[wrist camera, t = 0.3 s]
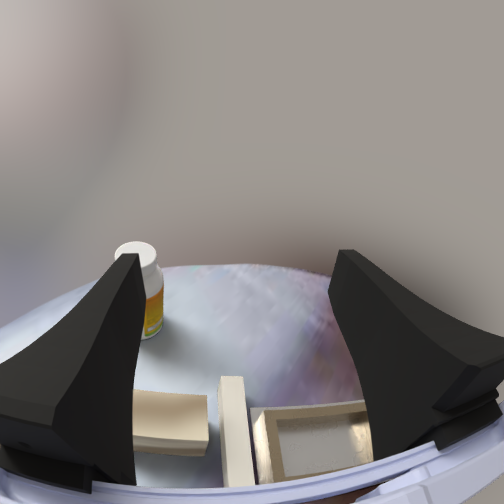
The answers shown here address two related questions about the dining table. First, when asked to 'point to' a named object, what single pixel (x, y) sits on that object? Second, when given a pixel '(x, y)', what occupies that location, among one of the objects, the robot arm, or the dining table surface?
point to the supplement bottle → (148, 285)
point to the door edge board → (234, 433)
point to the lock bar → (170, 423)
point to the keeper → (310, 440)
